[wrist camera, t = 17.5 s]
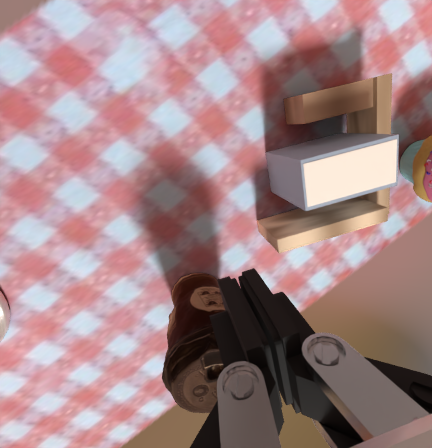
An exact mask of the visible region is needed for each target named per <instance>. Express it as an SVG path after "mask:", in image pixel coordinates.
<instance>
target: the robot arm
mask: <svg viewBox="0 0 432 448" xmlns="http://www.w3.org/2000/svg"><path fill="white" fill-rule="evenodd" d="M238 278H239V283H240V286H239V284H238V283H237V281H236V279H235V278H233V279H230V277H229V276H228V277H225V278H222V279H219V280H217V282H218V286H219V290H220V293H221V297H222V301H223V304H224V308H225V311H223V312H220V313H217V314H214V315H211V316H210V320H211V324H212V327H213V331H214V334H215V338H216V341H217V345H218V348H219V352H220V355H221V359H222V363H223V366H224V370H223V371H222V372H221V373H220V375H219V378H218V380H217V397H218V400H217V402H216V404H215V405H214V407H213V409H212V411H211V412H210V414H209V416H208V417H207V419H206V421H205V423H204V424H203V426H202V428H201V429H200V431H199V433H198V435H197V436H196V438H195V440H194V441H193V444H192V445H191V447H190V448H281V444H280V441H279V434H280V431H281V428H282V425H283V423H284V419H283V415H282V410H281V407H282V402H281V398H280V393H281V395H282V398H283V399H284V402H285V404H286V405H289V404H292V406H293V408H294V410H295V412H296V413H299V412H301V413H302V414H303V415H305V416H307V417H310V418H312V419H313V422H314V424H315V426H316V428H317V429H318V430H319V432H320V433H321V435H322V436H323V437H324V439H325V440H326V442H327V443H328V445H329V446H330V447H331V448H432V376H430V375H427V374H424V373H421V372H417V371H413V370H410V369H406V368H402V367H398V366H395V365H391V364H388V363H384V362H381V361H377V360H373V359H370V358H366V357H363V356H362V355H361V354H359V353H358V352H357V351H356V350H355V349H354V348H353V347H351V346H350V345H349V344H348V343H347V342H346V341H344V340H343V339H341V338H340V337H339V336H336V335H333V334H330V333H315V332H314V331H313V330H312V328H311V327H310V326H309V324H308V323H307V322H306V321H305V319H304V318H303V317H302V315H301V314H300V313H299V311H298V310H297V309H296V308H295V306H294V305H293V304H292V303H291V301H290V300H289V299H288V297H287V296H286V295H285V294H284V293H283V292H279V293H276V294H272V293H271V291H270V290H269V288H268V287H267V285H266V284H265V283H264V281H263V280H262V278H261V277H260V275H259V274H258V273H257V271H256V270H255V269H254V268H253V269H250V270H247V271H244V272H242V276H240V277H238ZM240 287H241V288H240ZM9 324H10V310H9V307H8V303H7V301H6V299H5V297H4V295H3V294H2V292H1V291H0V342H1V340H2V339H3V338H4V336H5V334H6V332H7V331H8V328H9ZM279 391H280V393H279Z"/></svg>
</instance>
